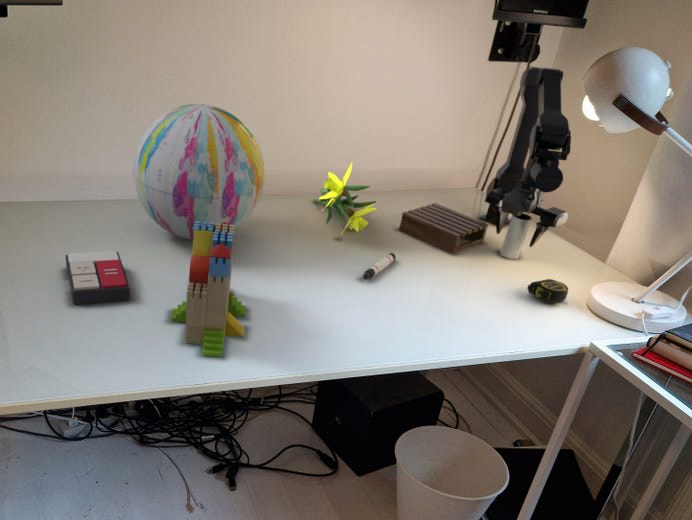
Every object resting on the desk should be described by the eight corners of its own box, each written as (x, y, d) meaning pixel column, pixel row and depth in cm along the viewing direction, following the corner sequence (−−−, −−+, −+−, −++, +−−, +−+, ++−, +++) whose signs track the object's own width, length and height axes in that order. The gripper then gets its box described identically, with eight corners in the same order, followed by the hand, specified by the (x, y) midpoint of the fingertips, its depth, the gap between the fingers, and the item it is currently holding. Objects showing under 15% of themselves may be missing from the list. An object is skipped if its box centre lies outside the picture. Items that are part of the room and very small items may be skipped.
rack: (430, 220, 178) (434, 202, 175) (483, 242, 168) (489, 224, 165) (398, 230, 170) (402, 212, 167) (451, 254, 160) (457, 235, 157)
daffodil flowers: (363, 207, 185) (398, 222, 152) (317, 232, 186) (342, 252, 153) (338, 152, 180) (368, 156, 147) (290, 178, 181) (310, 188, 148)
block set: (180, 279, 138) (183, 191, 127) (246, 284, 138) (255, 197, 127) (163, 352, 115) (165, 252, 104) (242, 359, 115) (252, 260, 104)
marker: (387, 259, 155) (389, 251, 154) (394, 261, 154) (396, 254, 153) (358, 281, 144) (360, 272, 143) (366, 284, 143) (368, 275, 142)
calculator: (72, 288, 123) (64, 250, 135) (73, 307, 126) (66, 269, 137) (129, 284, 127) (118, 248, 138) (130, 303, 129) (118, 265, 140)
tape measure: (546, 290, 148) (552, 275, 146) (570, 304, 143) (576, 289, 141) (524, 294, 145) (530, 279, 143) (547, 308, 140) (553, 293, 138)
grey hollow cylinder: (519, 254, 164) (532, 215, 158) (517, 260, 160) (531, 221, 154) (500, 249, 165) (513, 211, 159) (498, 256, 162) (511, 217, 156)
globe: (236, 208, 174) (245, 90, 157) (276, 257, 151) (292, 124, 134) (124, 213, 165) (121, 88, 148) (148, 266, 142) (147, 125, 125)
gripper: (481, 171, 153) (463, 233, 161) (556, 196, 141) (532, 261, 150) (507, 164, 159) (488, 224, 168) (579, 188, 148) (555, 251, 156)
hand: (514, 240), depth 160 cm, fingers open, 9 cm apart
